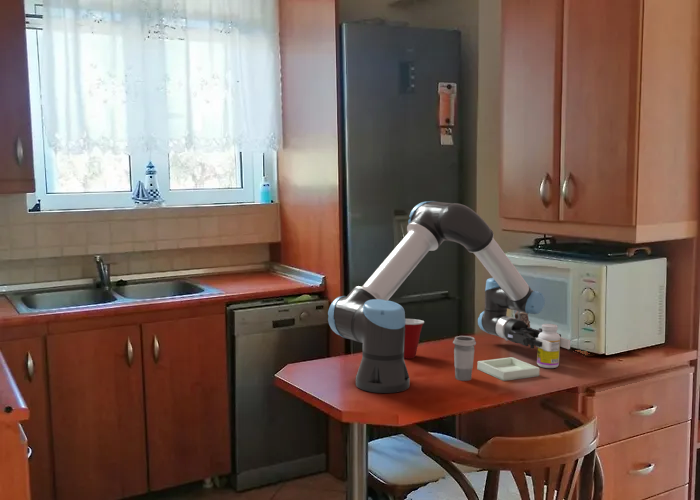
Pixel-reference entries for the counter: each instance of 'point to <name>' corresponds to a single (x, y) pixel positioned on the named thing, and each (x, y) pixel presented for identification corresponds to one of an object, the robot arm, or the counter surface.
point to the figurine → (522, 317)
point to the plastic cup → (412, 337)
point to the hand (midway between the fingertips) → (559, 345)
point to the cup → (463, 357)
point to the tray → (508, 368)
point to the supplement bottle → (551, 357)
